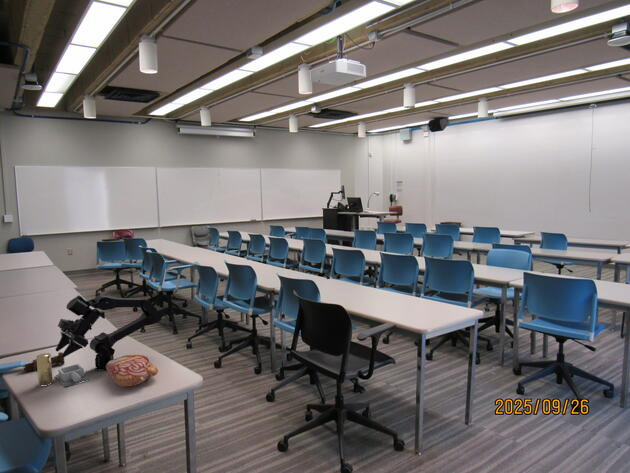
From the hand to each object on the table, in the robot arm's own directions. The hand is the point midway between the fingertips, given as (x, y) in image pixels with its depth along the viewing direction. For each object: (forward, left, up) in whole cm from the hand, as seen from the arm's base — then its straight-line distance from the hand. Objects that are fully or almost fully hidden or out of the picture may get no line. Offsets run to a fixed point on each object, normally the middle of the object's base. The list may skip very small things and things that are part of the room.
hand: (59, 353), depth 175 cm
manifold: (-4, -1, -11) cm, 12 cm away
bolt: (+15, -14, -12) cm, 24 cm away
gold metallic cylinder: (+4, +3, -11) cm, 13 cm away
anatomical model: (-28, -1, -12) cm, 31 cm away
